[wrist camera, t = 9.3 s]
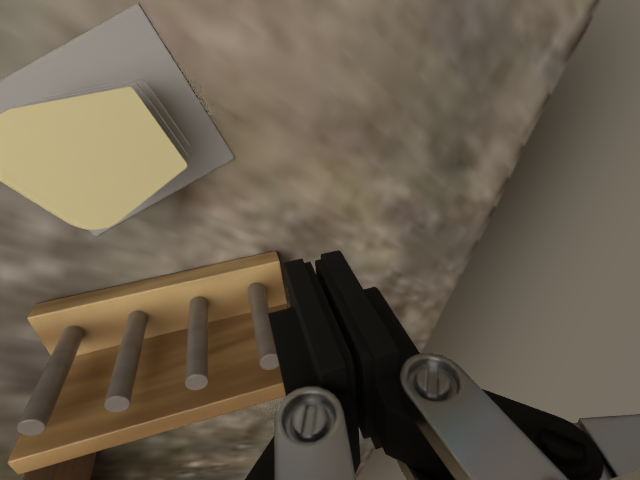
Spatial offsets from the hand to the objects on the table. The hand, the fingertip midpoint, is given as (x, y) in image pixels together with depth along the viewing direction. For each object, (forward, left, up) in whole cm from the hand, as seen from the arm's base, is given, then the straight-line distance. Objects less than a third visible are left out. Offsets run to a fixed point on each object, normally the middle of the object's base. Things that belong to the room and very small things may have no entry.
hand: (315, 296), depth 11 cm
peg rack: (+9, -8, -15) cm, 19 cm away
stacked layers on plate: (-3, -8, -15) cm, 17 cm away
